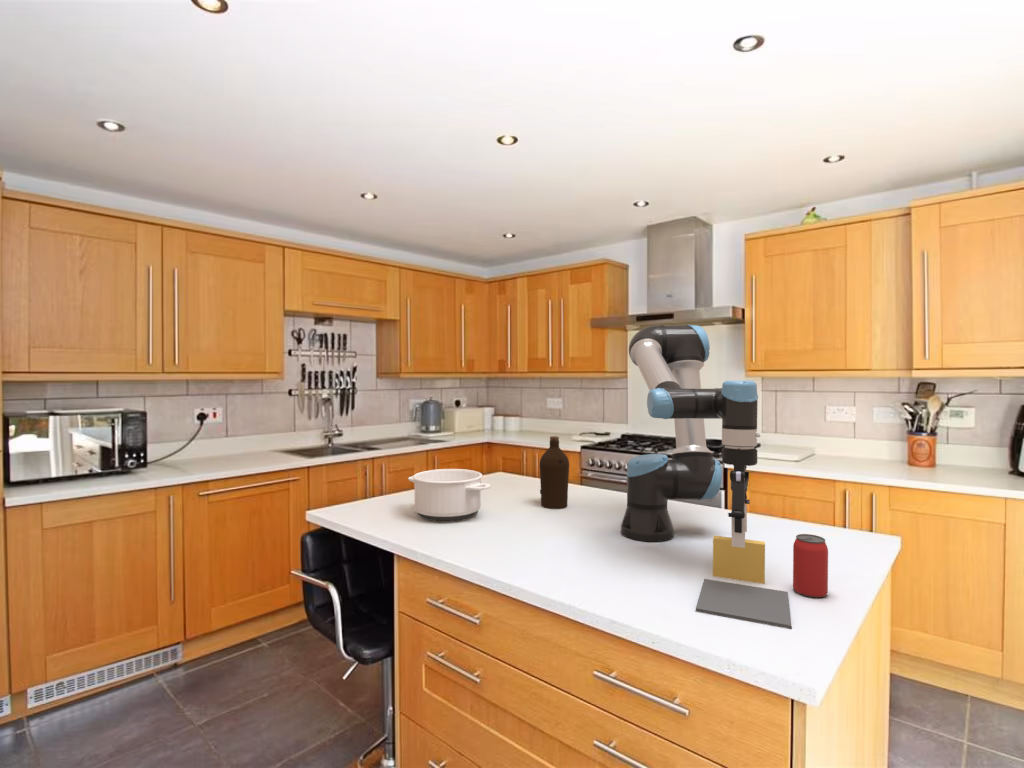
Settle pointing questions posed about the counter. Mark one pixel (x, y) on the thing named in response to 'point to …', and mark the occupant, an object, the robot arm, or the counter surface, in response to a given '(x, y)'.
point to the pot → (448, 494)
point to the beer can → (810, 566)
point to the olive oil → (554, 476)
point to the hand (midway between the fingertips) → (739, 538)
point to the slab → (739, 560)
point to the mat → (745, 603)
